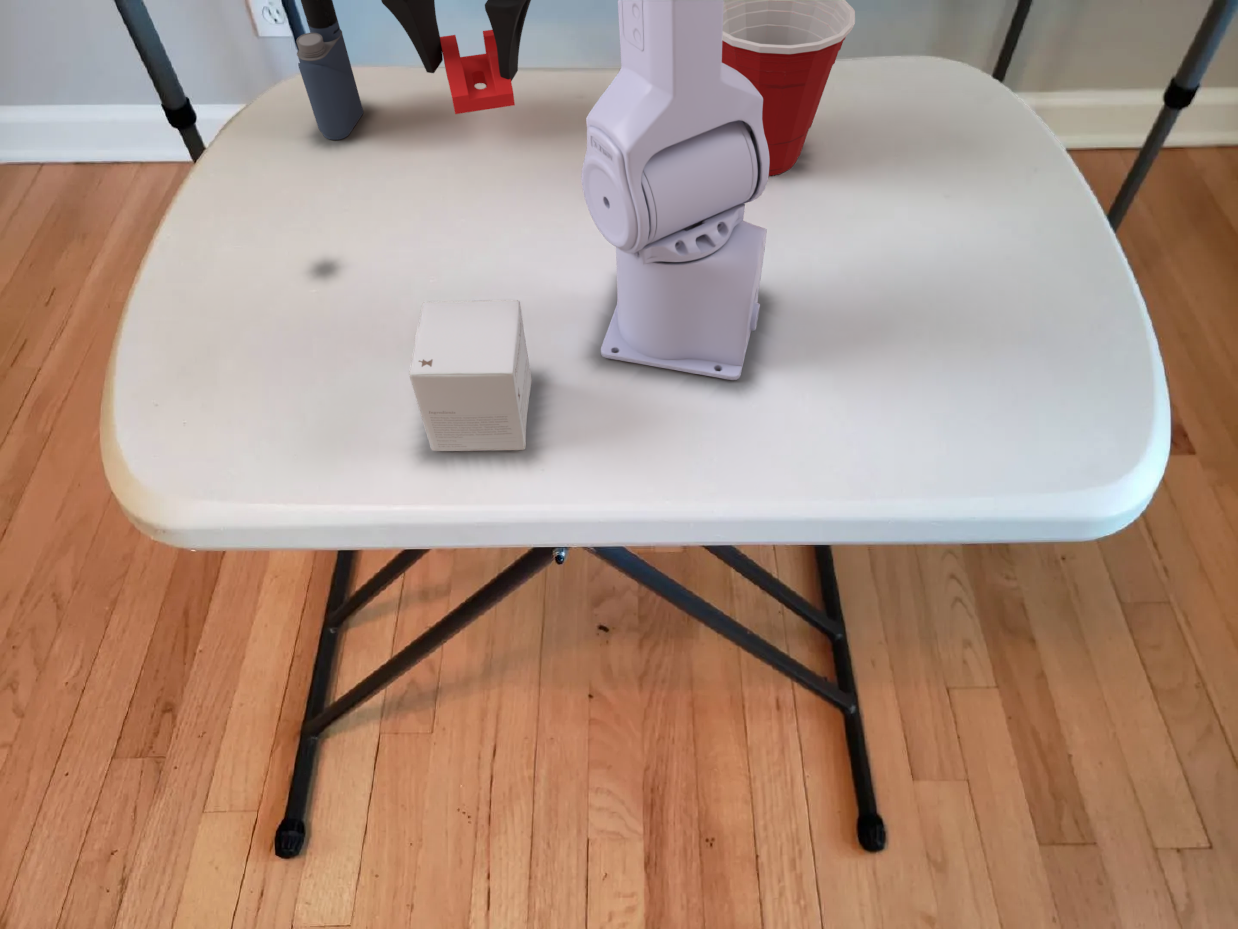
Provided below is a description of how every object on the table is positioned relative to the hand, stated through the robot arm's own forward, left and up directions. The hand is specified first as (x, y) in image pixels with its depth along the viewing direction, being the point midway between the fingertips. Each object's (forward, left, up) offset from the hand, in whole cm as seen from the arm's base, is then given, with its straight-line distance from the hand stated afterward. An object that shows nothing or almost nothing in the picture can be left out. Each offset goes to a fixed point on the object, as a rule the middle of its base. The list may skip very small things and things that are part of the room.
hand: (472, 70), depth 74 cm
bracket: (0, 0, -2) cm, 2 cm away
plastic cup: (-24, -1, -5) cm, 24 cm away
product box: (-11, +30, -5) cm, 33 cm away
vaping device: (+12, +3, -5) cm, 13 cm away
